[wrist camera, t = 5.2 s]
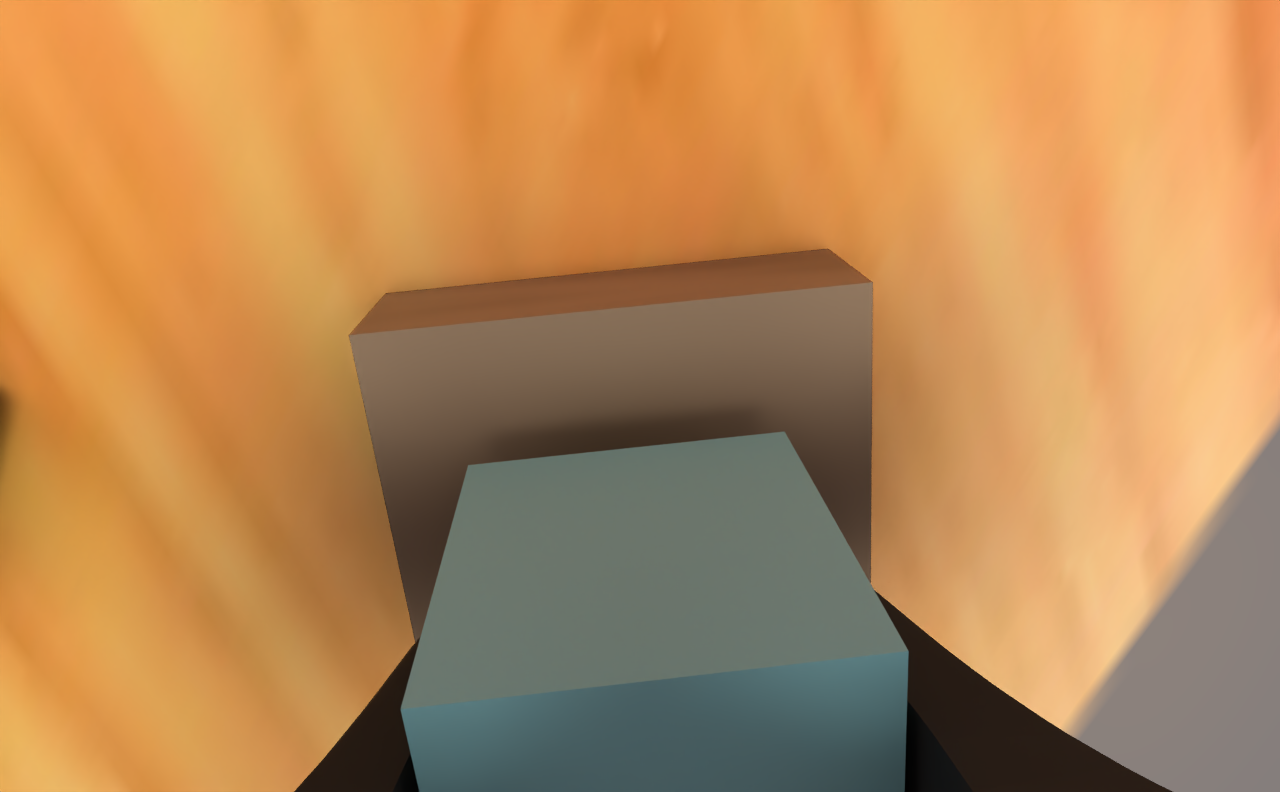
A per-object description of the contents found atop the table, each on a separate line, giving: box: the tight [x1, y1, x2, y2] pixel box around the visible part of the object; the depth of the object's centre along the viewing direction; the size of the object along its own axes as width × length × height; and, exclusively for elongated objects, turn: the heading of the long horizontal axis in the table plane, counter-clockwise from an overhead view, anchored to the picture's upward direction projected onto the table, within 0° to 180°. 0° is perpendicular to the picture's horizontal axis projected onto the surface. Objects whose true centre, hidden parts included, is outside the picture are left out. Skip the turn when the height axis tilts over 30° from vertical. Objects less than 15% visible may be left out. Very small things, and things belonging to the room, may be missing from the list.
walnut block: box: [349, 249, 873, 642], centre depth 16 cm, size 8×8×3 cm
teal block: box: [401, 432, 909, 792], centre depth 11 cm, size 4×4×5 cm
